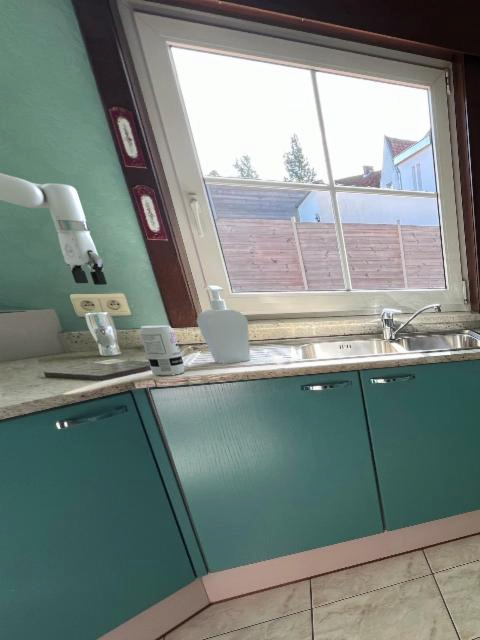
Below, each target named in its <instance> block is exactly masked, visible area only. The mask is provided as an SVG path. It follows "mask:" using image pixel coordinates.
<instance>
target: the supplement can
mask: <svg viewBox="0 0 480 640" xmlns="http://www.w3.org/2000/svg"><path fill="white" fill-rule="evenodd" d="M139 336H140V338H141V342H142V346H143V348H144V351H145V355H146V357H147V362H149V364H150V367H151V370H150V371H151V373H152V374H153V375H155V376H156V375H172V376H174V375H173V374H178V375H181V374H180V373H182V374H184V373H185V371H186V367H185V363H184V360H183V356H182V354H181V353H182V352H181V350H180V346H179V342H178V340H177V336H176V333H175V330H174V329H173V328H172V326H171V325H170V324H149V325H142V326H140V329H139ZM183 372H184V373H183Z"/></svg>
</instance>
